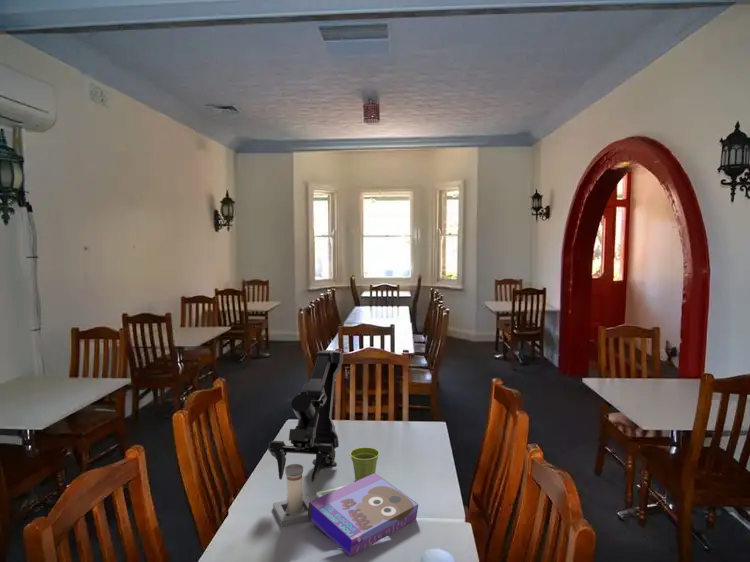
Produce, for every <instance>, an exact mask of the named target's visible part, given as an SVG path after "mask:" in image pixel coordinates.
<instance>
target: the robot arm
mask: <svg viewBox="0 0 750 562" xmlns="http://www.w3.org/2000/svg"><path fill="white" fill-rule="evenodd" d="M343 362H344V354H343V353H341V351H340V350H330V349H329V350H328V349H327V350H326V349H322V350H320V351H317V352H316V361H315V364H314V367H313V370H312V373H311V376H310V379H309V381H307V382H306V383H304V385H303V387H302V389H301V391H300V392H299V394H298V395H296V396H295V397H293V399H292V400H291V404H290V405H291V408H292V410H293V412H294V414H295V416H296V418H297V419H298V421H297V424H296V426H295V428H289V432H288V433H289V434H288V441H290V444H291V445H287V444H285V442H284V441H283V440H271V441H270V442H269V443H268V448H267V450H268V452H269V453H270V455H271V456H272V457H274V458H275V460H276V462H277V471H278V479H279V480H281V481H282V479H283V477H284V472H285V468H286V462H287V457H286V456H287V454H288V453H289V454H303V455H316V456H315V459H313V460H312V462H313V463H314V465H313V469H312V473H311V483H314V481H315V480H316V478H317V477H318V475H319V473H320V472H321V471H322V469H325V468H329V467H334V466H335V467H336V466H337V464H338V463H337V462H336V461H335V460H336V459H335V458H336V450H335V449H336V448H339V444H340V443H339V442H340V441H339V436H338V434H337V431H336V426H335V424H334V422H333V419H332V417H333V416H332V415H333V403H334V393H335V384H336V383H335V382H336V376H337V375H338V374H339V372H340V371H341V368H342V364H343ZM316 408H317V409H318V410H317V409H316Z"/></svg>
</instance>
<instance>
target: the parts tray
mask: <svg viewBox="0 0 750 562" xmlns="http://www.w3.org/2000/svg"><path fill="white" fill-rule="evenodd" d="M344 486H345V485H342V486H338V487H334V488H330V489H324V490H320V491H316V493H315V494H316V496H315V497H316V499H317V498H319V497H322V496H324V495H326V494H328V493H331V492H333V491H335V490H337V489H340V488H342V487H344Z"/></svg>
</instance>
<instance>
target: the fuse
mask: <svg viewBox="0 0 750 562" xmlns="http://www.w3.org/2000/svg"><path fill="white" fill-rule="evenodd" d="M284 472H285V475H286V477H285V478H286V500H287V509H286V514H287V516H289V515H294V514H298V513H302V512H304V507H303V497H304V495H303V473H304V466H303V464H299V463H292V464H289V465H287V466H285V468H284Z"/></svg>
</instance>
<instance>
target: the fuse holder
mask: <svg viewBox="0 0 750 562" xmlns="http://www.w3.org/2000/svg"><path fill="white" fill-rule="evenodd" d="M310 501H311V499H310V498H309V496H308V495H305V496H304V495H303V507H304V512H302V513H298V514H294V515H289V516H287V514H286V509H287V499H286V500H281V501H276V502H273V503H272V509H273V511H274V513H275V515H276V518H277V519H278V521H279V524H280V525H281V527H286V526H290V525H295V524H299V523H303V522H307V521H311V520H310V519H309V518H308V507H309V502H310Z"/></svg>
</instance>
